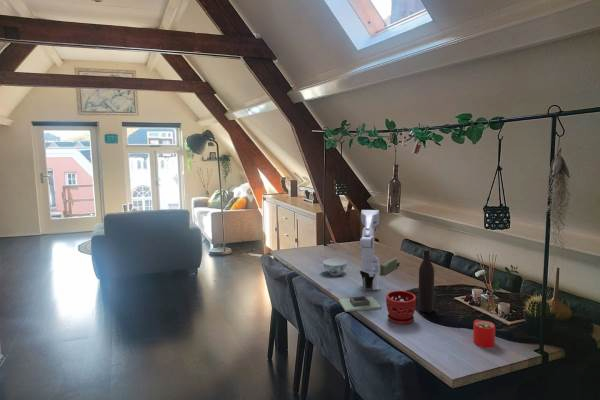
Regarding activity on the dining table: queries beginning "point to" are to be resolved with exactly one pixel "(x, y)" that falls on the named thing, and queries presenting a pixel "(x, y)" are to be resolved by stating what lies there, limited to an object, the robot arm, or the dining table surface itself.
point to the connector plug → (366, 287)
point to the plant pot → (401, 307)
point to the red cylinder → (484, 333)
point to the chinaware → (335, 266)
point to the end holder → (359, 303)
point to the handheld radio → (388, 266)
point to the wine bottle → (426, 284)
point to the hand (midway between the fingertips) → (367, 286)
